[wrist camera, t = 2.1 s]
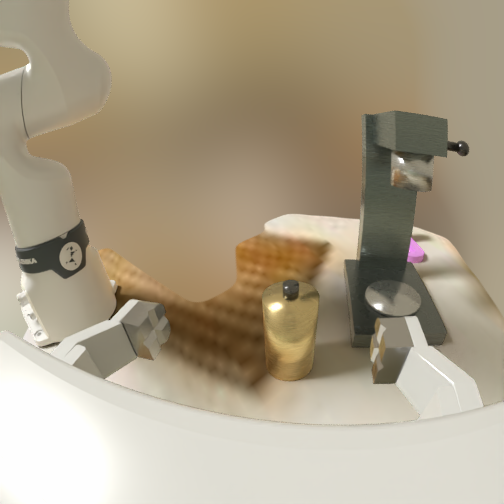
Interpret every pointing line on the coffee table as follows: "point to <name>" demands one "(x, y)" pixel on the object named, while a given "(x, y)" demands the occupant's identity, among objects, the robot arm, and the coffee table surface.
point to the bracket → (415, 253)
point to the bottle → (290, 328)
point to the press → (393, 222)
